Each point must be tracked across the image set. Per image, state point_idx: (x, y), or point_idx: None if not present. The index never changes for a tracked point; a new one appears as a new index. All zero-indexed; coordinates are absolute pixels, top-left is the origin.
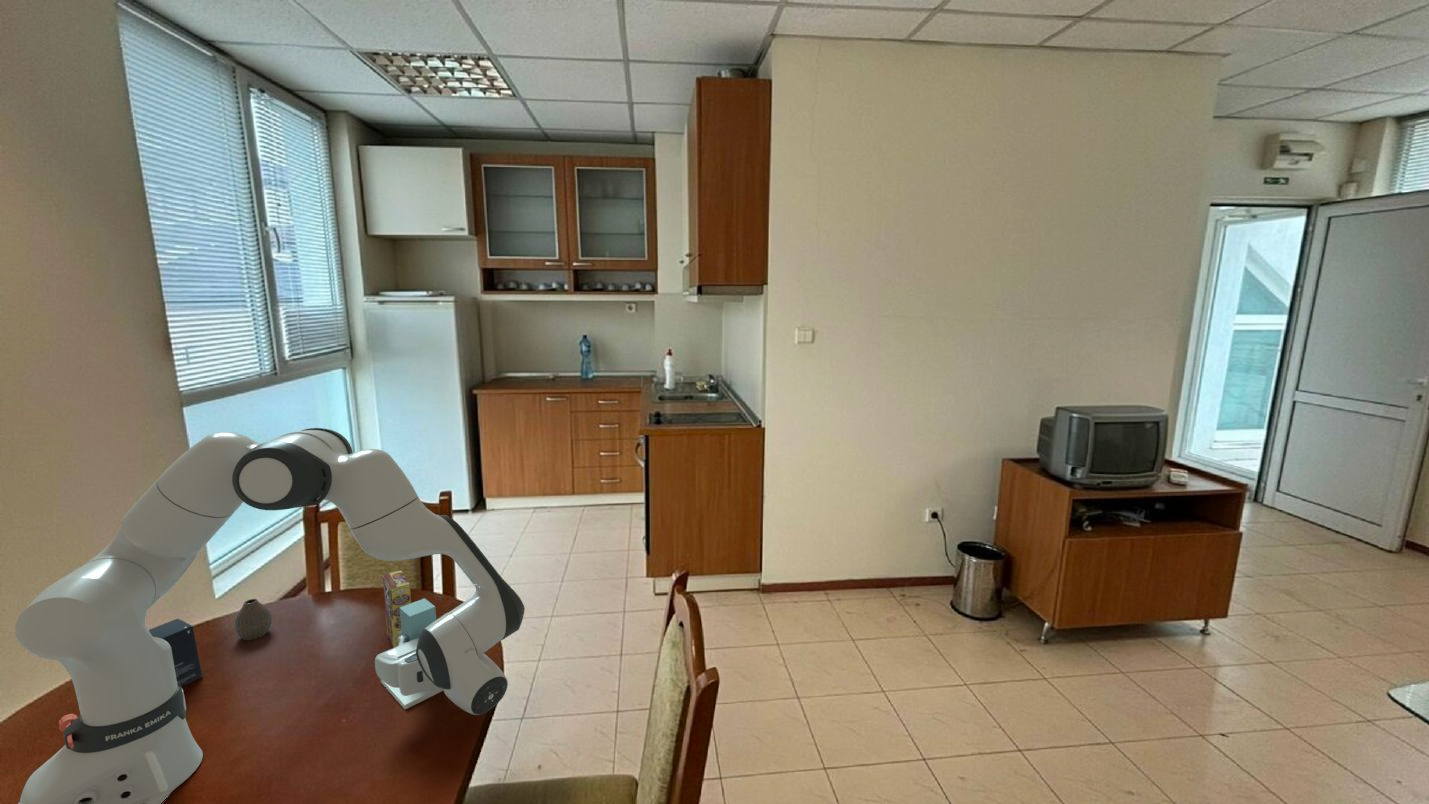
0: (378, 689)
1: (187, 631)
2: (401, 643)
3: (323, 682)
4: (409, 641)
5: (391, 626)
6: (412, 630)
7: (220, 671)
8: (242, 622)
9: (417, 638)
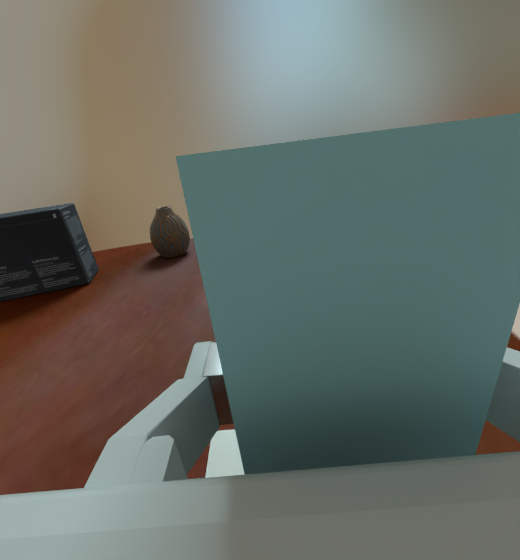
0: (192, 472)
1: (52, 215)
2: (140, 430)
3: (144, 360)
4: (140, 498)
5: None
6: (234, 350)
7: (106, 282)
8: (151, 231)
9: (245, 501)
